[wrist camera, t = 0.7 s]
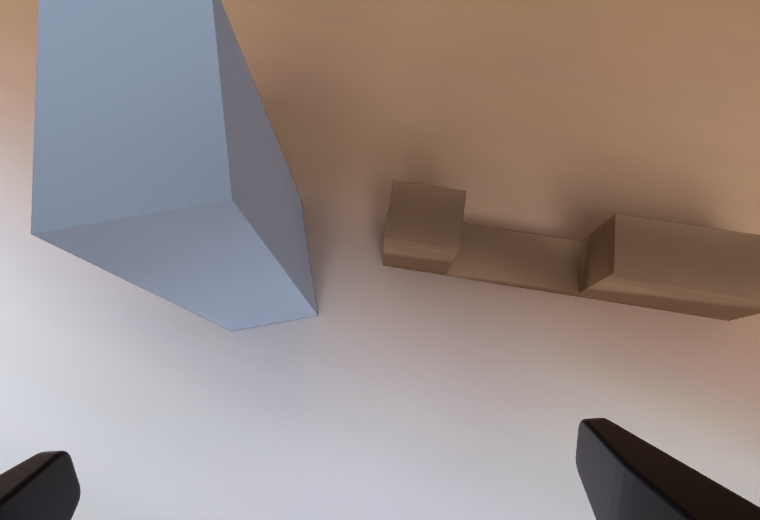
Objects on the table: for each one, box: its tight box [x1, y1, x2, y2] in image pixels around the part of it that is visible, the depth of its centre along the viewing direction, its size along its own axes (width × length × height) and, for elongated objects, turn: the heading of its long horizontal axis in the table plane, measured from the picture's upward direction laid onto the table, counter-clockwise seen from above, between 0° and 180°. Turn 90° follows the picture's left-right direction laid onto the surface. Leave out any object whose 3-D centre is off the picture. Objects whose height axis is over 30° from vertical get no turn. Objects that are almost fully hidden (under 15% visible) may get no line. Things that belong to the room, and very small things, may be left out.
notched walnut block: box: [383, 180, 760, 321], centre depth 21 cm, size 2×16×4 cm, turn 80°
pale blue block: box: [31, 0, 318, 331], centre depth 17 cm, size 6×4×13 cm, turn 10°
